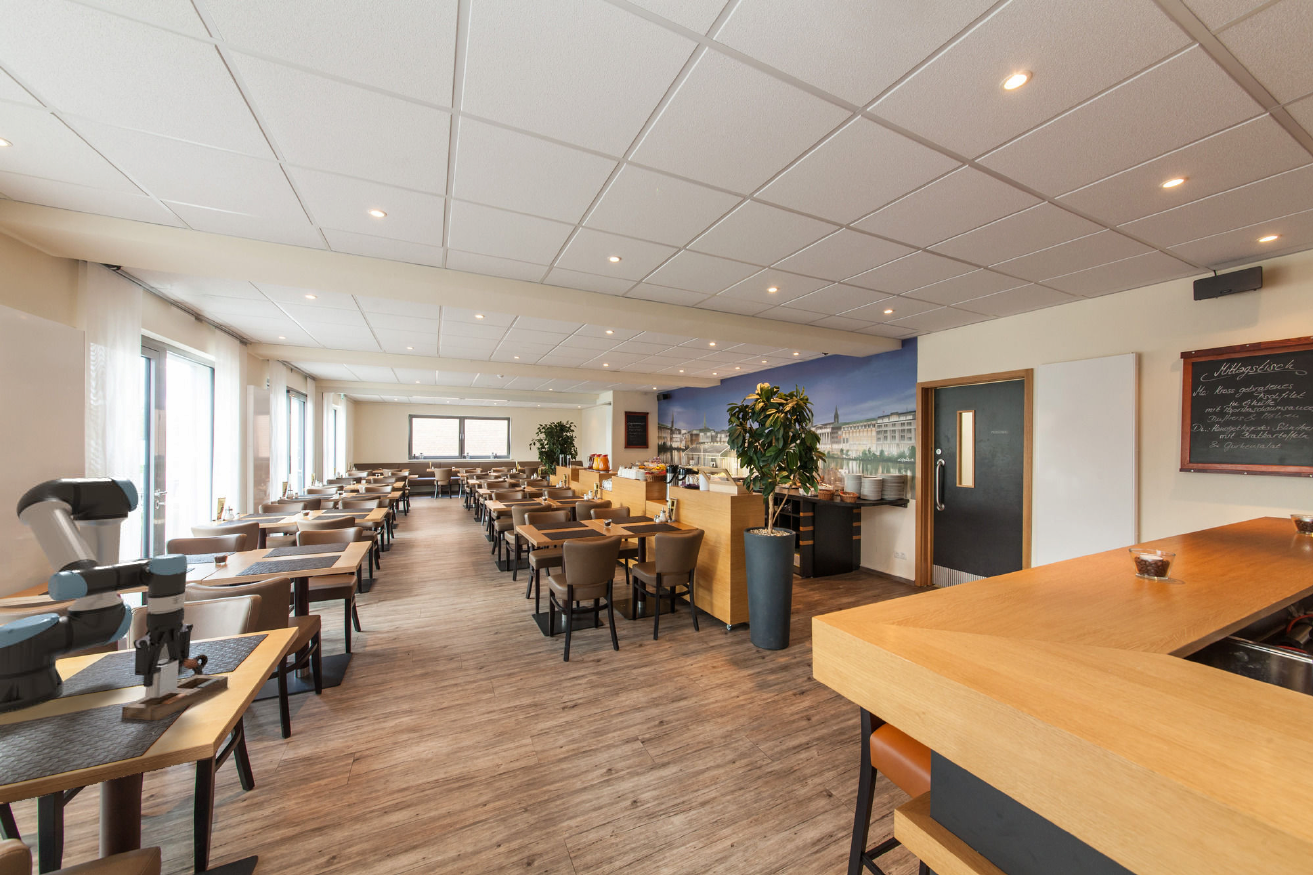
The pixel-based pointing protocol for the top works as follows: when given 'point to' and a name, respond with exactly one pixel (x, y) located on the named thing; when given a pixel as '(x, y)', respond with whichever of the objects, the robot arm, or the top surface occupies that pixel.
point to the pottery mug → (196, 664)
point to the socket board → (175, 698)
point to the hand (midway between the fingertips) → (161, 692)
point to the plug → (167, 676)
